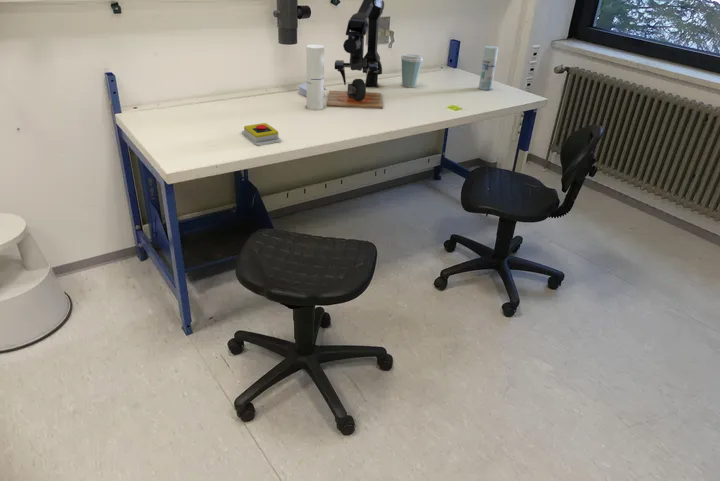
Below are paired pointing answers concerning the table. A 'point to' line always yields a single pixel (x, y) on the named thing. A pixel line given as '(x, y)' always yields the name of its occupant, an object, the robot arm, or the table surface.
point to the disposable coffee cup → (410, 69)
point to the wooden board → (344, 101)
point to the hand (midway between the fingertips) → (355, 85)
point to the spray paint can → (488, 67)
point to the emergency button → (261, 134)
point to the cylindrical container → (315, 76)
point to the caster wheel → (357, 89)
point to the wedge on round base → (304, 89)
